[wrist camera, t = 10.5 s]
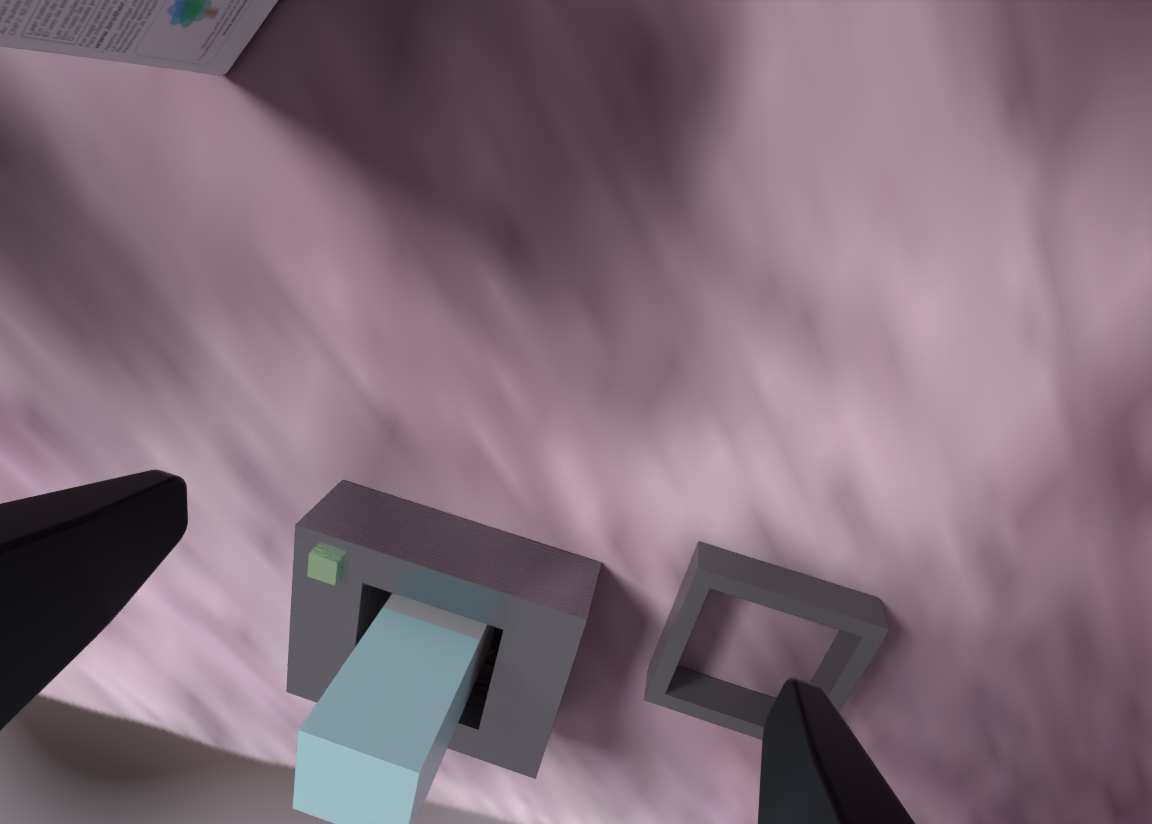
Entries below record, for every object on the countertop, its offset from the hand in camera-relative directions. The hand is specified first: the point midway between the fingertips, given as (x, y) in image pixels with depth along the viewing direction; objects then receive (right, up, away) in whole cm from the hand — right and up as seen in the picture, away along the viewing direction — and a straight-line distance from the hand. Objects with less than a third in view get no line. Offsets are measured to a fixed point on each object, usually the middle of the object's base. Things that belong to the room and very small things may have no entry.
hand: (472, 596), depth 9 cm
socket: (-3, -5, +16) cm, 17 cm away
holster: (+8, -5, +14) cm, 17 cm away
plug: (-3, -5, +16) cm, 17 cm away
